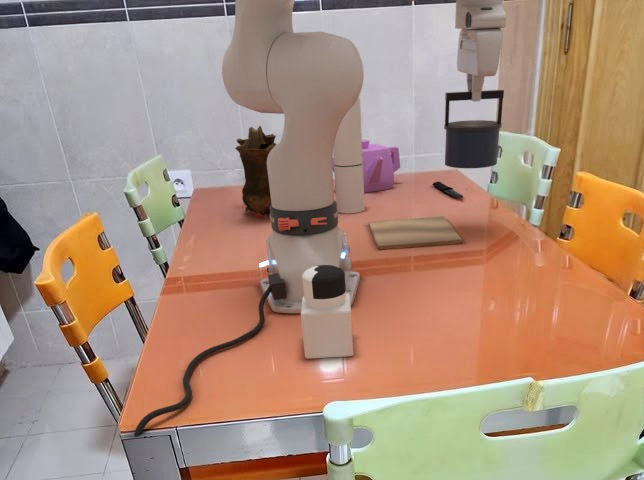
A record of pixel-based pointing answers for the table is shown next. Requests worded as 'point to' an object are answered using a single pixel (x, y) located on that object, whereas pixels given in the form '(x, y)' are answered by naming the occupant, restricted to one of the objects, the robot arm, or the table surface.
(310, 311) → the medicine bottle
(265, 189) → the pottery vessel
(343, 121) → the cylindrical container
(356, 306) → the table surface
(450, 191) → the knife
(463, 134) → the pot
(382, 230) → the cutting board
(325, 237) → the robot arm
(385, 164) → the teakettle
